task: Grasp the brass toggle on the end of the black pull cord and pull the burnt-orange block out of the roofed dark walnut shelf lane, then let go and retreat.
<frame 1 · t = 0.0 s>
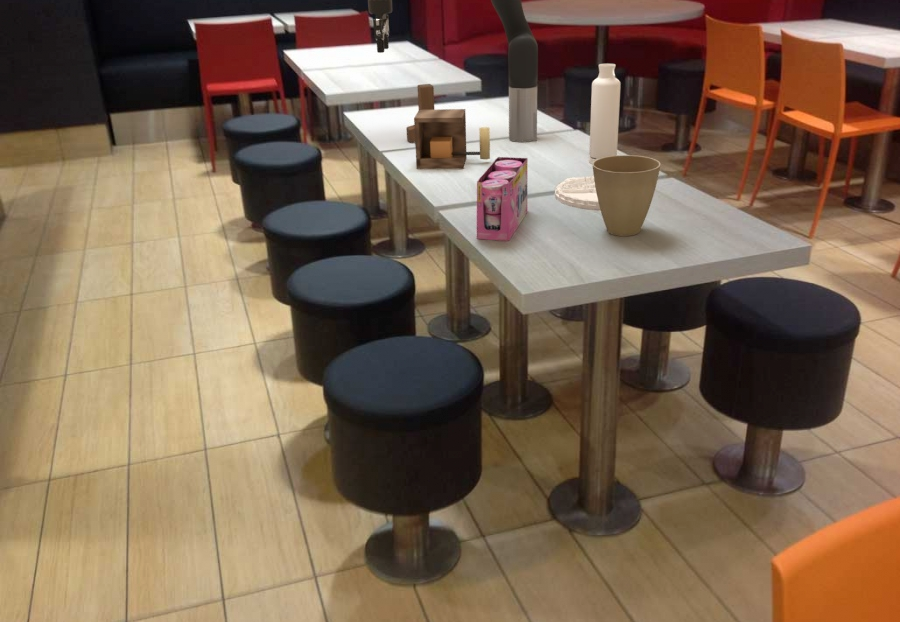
hand: (383, 50, 269), 29 cm above the table, fingers open, 8 cm apart
wooden block: (421, 140, 280), on the table
plant pot: (622, 231, 193), on the table
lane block: (460, 143, 249), point 6 cm above the table, slide at 0.0 cm
gum box: (503, 225, 200), on the table
medallion: (596, 196, 219), on the table
bottle: (602, 162, 248), on the table
shelf lane: (442, 163, 252), on the table
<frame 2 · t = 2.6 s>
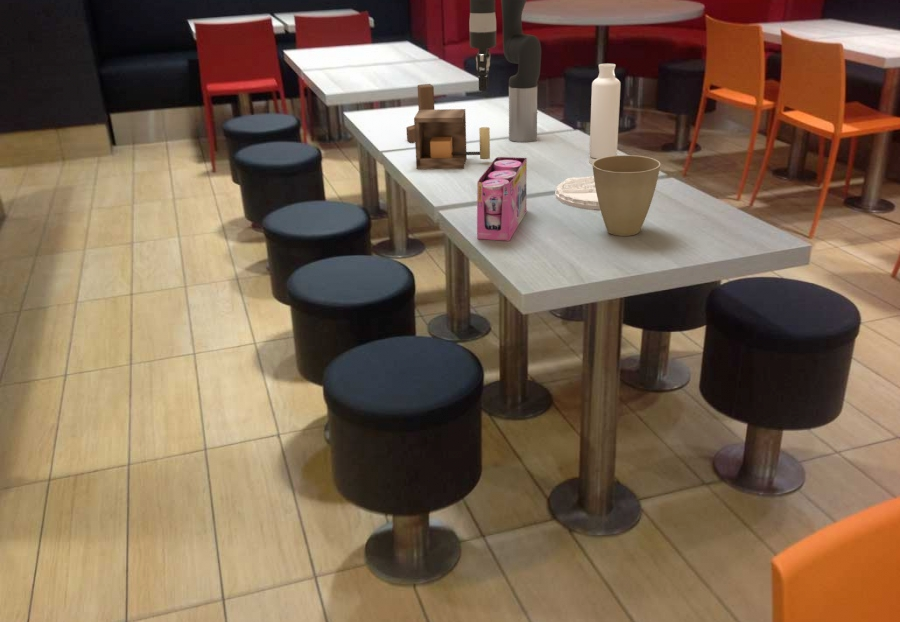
hand: (483, 88, 242), 22 cm above the table, fingers open, 8 cm apart
nothing on the table moved.
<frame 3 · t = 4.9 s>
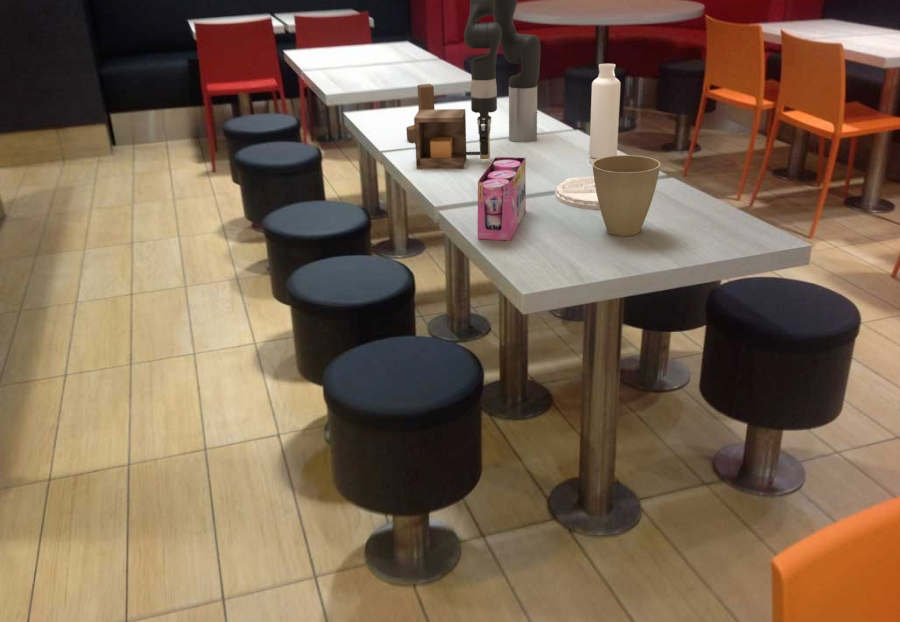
hand: (484, 152, 250), 3 cm above the table, fingers closed on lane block, 3 cm apart
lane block: (460, 143, 249), point 6 cm above the table, slide at 0.0 cm, touching gripper
everything else where it was.
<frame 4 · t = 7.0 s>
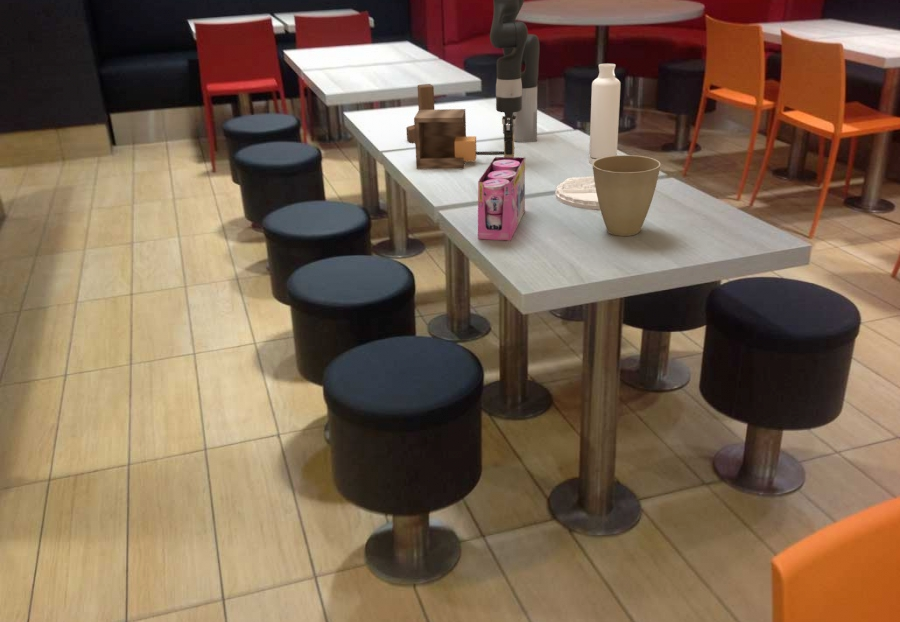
hand: (509, 152, 249), 3 cm above the table, fingers closed on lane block, 3 cm apart
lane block: (484, 143, 249), point 6 cm above the table, slide at 7.3 cm, touching gripper
everything else where it was.
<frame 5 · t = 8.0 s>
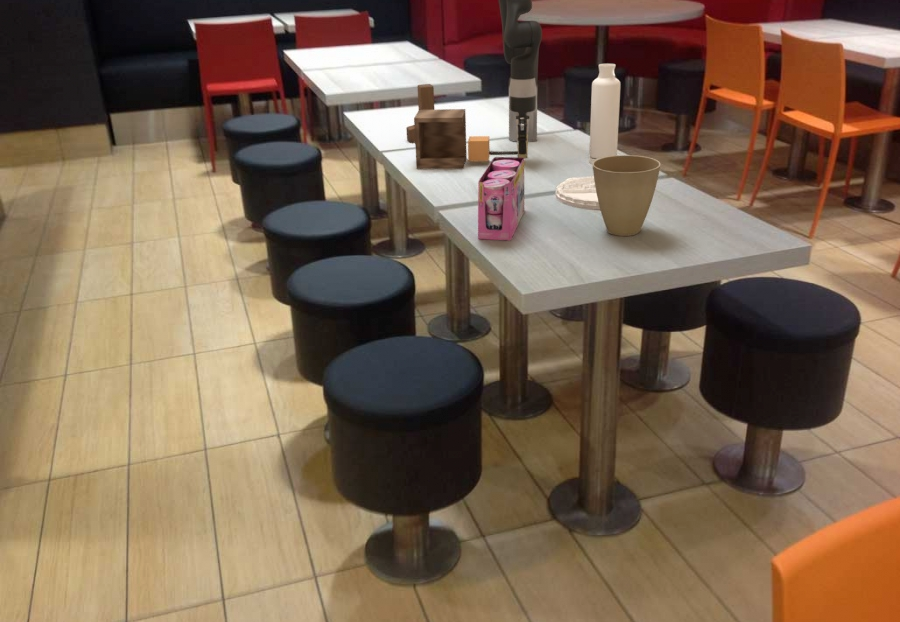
hand: (522, 152, 249), 3 cm above the table, fingers closed on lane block, 3 cm apart
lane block: (498, 143, 248), point 6 cm above the table, slide at 11.3 cm, touching gripper
everything else where it was.
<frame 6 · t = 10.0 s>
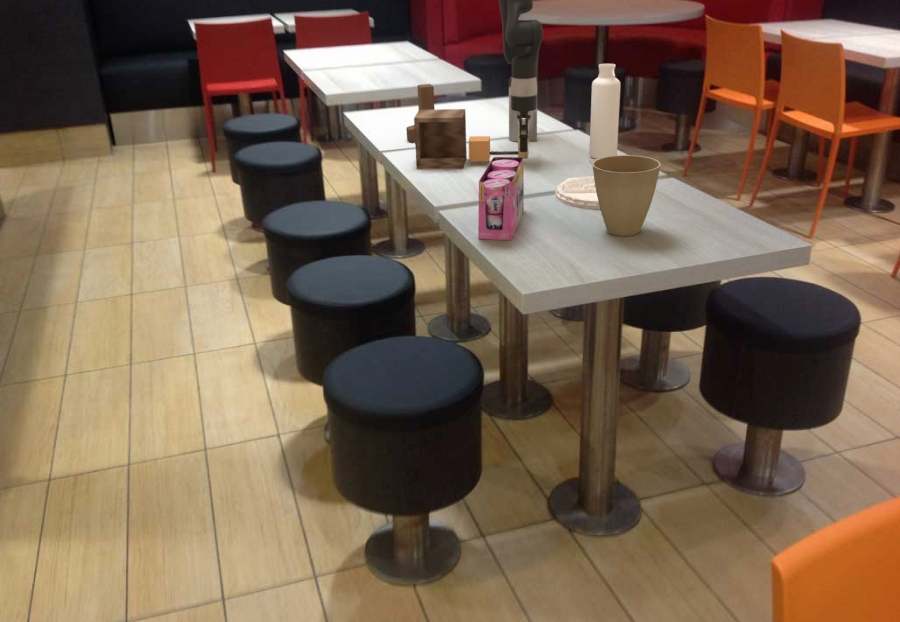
hand: (523, 148, 248), 4 cm above the table, fingers open, 8 cm apart
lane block: (498, 143, 248), point 6 cm above the table, slide at 11.4 cm
everything else where it was.
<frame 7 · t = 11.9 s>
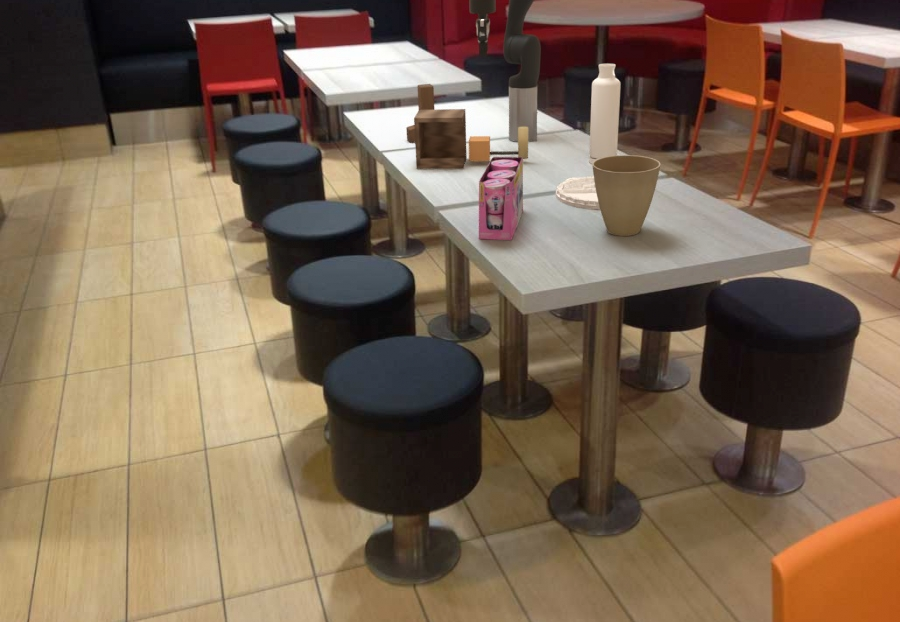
hand: (483, 54, 245), 31 cm above the table, fingers open, 8 cm apart
nothing on the table moved.
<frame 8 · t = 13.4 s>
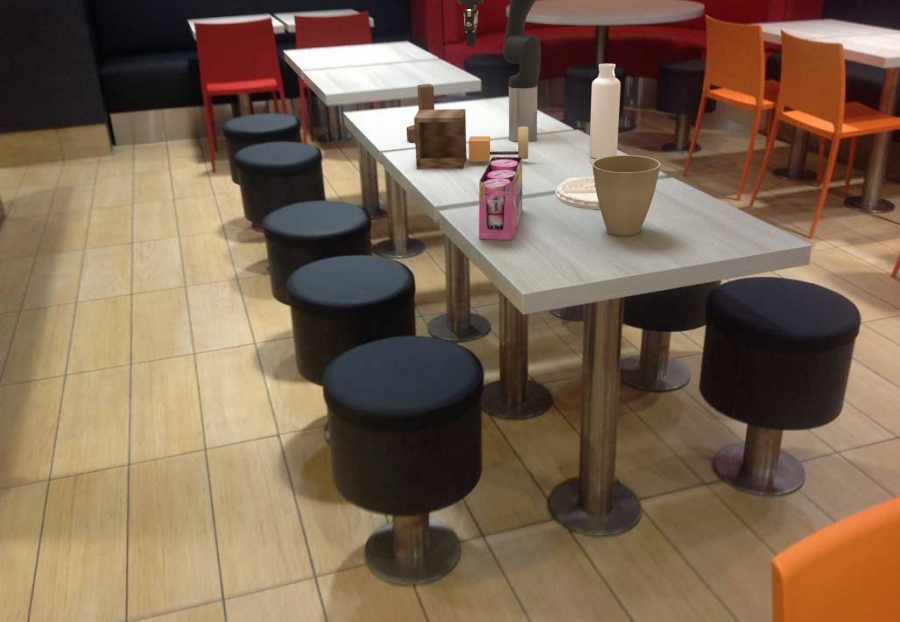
hand: (471, 44, 247), 33 cm above the table, fingers open, 8 cm apart
nothing on the table moved.
at the end: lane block slide at 11.4 cm; the gripper is holding nothing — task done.
